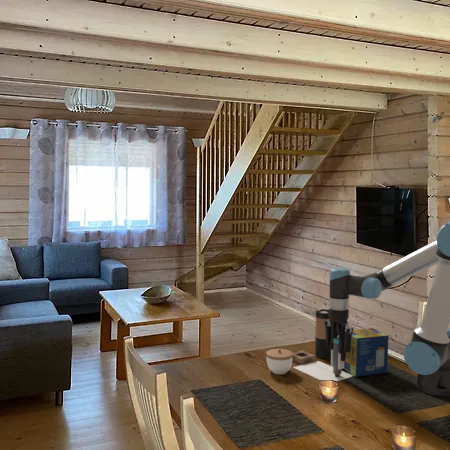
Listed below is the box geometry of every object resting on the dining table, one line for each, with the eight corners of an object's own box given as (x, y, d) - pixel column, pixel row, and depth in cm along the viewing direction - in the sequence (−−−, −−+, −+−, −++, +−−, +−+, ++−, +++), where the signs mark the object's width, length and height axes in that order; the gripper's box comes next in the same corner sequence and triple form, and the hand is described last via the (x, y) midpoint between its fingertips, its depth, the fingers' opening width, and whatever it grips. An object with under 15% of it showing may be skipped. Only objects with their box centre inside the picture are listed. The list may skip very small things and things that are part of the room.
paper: (353, 376, 193) (353, 375, 193) (327, 384, 185) (327, 383, 185) (318, 361, 209) (318, 360, 209) (293, 367, 202) (293, 367, 202)
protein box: (340, 367, 201) (341, 330, 200) (371, 364, 206) (373, 327, 205) (355, 377, 191) (356, 338, 190) (388, 372, 196) (389, 334, 195)
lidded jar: (262, 374, 195) (262, 351, 194) (270, 365, 205) (270, 343, 204) (289, 378, 191) (289, 354, 190) (295, 368, 201) (295, 346, 200)
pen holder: (314, 361, 210) (315, 355, 210) (300, 364, 205) (300, 359, 205) (302, 355, 216) (302, 350, 216) (288, 359, 212) (288, 353, 212)
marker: (343, 376, 192) (344, 339, 191) (337, 378, 190) (337, 340, 189) (337, 373, 195) (337, 336, 193) (331, 375, 193) (331, 338, 192)
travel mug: (332, 359, 212) (333, 313, 211) (314, 358, 214) (315, 313, 212) (332, 353, 220) (333, 309, 218) (315, 352, 221) (315, 308, 220)
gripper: (361, 311, 185) (360, 371, 187) (330, 302, 199) (329, 358, 201) (347, 314, 181) (346, 375, 183) (317, 305, 195) (316, 362, 197)
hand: (337, 366), depth 192 cm, fingers closed on marker, 3 cm apart
